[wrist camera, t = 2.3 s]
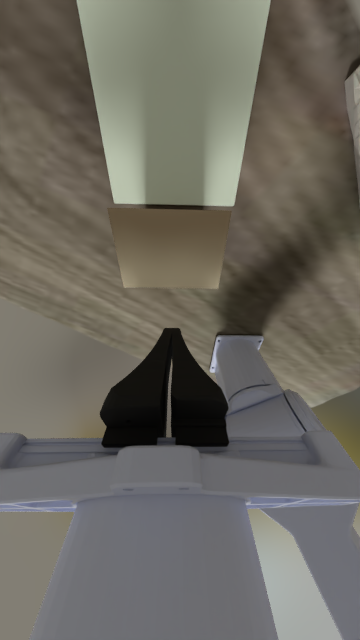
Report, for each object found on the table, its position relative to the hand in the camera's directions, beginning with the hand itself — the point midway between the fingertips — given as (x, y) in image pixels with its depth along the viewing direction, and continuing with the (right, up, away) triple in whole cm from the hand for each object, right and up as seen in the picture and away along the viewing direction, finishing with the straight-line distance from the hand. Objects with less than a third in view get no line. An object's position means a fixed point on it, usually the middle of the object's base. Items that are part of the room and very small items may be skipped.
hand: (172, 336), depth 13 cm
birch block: (0, +11, +4) cm, 11 cm away
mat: (0, +18, -2) cm, 18 cm away
